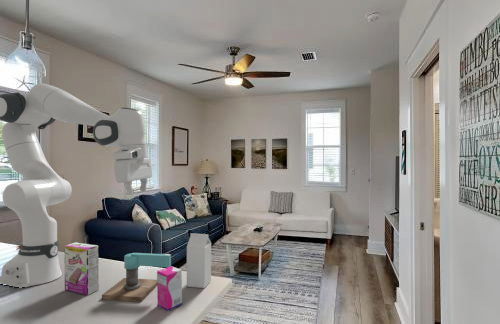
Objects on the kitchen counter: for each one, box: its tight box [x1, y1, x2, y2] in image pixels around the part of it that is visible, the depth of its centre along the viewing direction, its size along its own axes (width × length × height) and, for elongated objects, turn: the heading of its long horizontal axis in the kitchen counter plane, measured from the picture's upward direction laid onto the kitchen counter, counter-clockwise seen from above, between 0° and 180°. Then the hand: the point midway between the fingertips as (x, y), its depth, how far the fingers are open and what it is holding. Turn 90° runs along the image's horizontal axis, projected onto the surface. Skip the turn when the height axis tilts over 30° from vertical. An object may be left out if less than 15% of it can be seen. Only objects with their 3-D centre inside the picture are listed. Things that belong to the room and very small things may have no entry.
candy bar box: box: [63, 241, 99, 296], centre depth 106 cm, size 11×5×16 cm, turn 71°
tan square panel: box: [101, 267, 157, 303], centre depth 106 cm, size 14×14×9 cm
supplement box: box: [156, 265, 183, 312], centre depth 96 cm, size 6×6×12 cm
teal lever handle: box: [123, 252, 172, 270], centre depth 105 cm, size 17×5×5 cm, turn 84°
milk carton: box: [186, 233, 212, 289], centre depth 113 cm, size 7×7×19 cm
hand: (137, 192), depth 104 cm, fingers open, 8 cm apart
